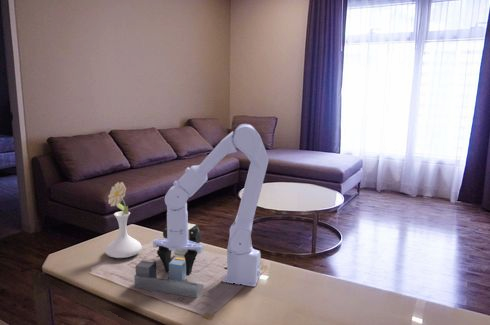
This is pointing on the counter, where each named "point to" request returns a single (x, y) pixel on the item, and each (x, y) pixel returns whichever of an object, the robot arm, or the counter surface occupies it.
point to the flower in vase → (121, 227)
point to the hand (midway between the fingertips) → (178, 272)
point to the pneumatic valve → (193, 236)
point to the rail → (162, 281)
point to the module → (177, 269)
